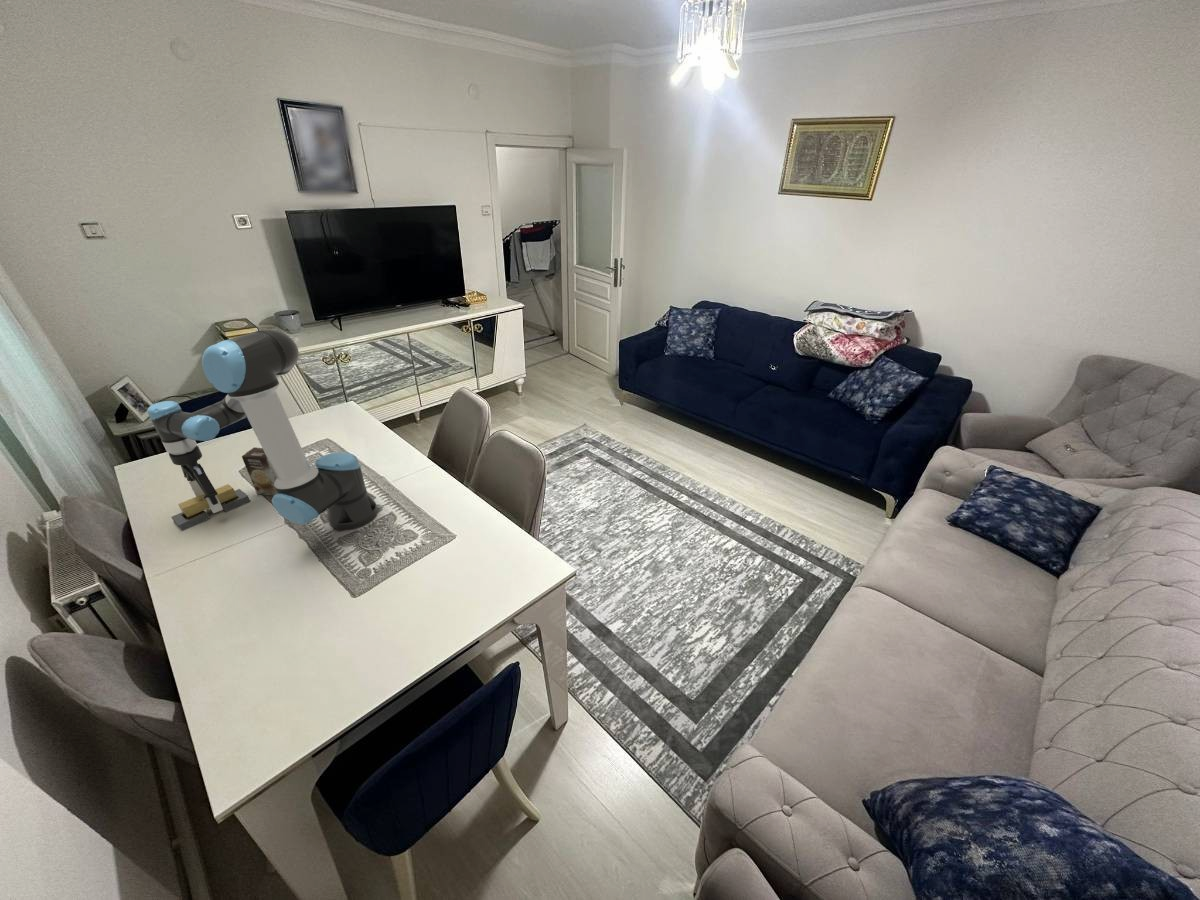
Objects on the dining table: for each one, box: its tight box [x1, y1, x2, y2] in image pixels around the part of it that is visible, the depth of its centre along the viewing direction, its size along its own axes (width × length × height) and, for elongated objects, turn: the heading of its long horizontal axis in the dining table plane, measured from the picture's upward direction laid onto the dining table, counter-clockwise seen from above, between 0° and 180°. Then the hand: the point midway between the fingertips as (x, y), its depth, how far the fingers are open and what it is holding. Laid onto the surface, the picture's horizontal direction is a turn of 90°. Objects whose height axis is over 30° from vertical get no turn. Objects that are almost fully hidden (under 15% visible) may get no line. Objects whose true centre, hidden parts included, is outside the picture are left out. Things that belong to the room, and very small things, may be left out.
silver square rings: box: [171, 488, 251, 531], centre depth 162 cm, size 7×20×2 cm, turn 144°
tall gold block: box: [177, 484, 237, 520], centre depth 161 cm, size 4×14×6 cm, turn 144°
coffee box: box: [241, 447, 278, 496], centre depth 170 cm, size 9×6×16 cm
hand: (209, 503), depth 161 cm, fingers open, 13 cm apart
